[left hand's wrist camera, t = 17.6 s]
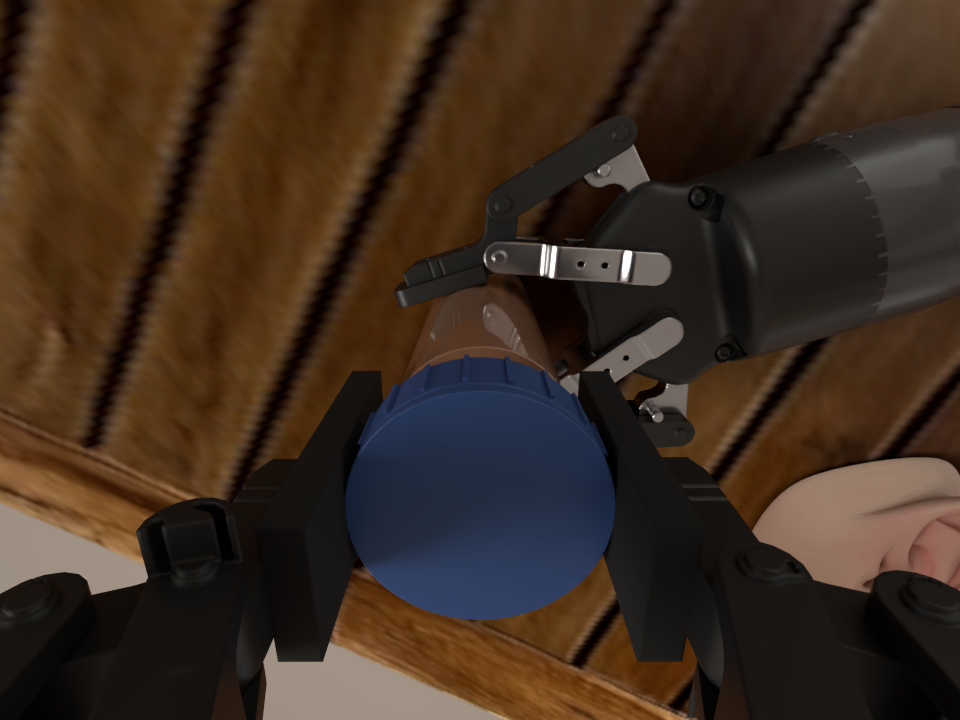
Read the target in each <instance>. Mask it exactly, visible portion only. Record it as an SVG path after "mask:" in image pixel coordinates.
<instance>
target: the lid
mask: <svg viewBox="0 0 960 720" xmlns="http://www.w3.org/2000/svg"><path fill="white" fill-rule="evenodd" d="M357 444H358V445H360V448H359V451H358V453H357V455H356V458H355V460H354V462H353V465H352V467H351V470H350V473H349V476H348V479H347V483H346V489H345V495H344V499H345V512H346V521H347V530H348V533H349V536H350V539H351V542H352V544H353V546H354V548H355V550H356V553H357V555H358V556H359V558H360V559H361V561H362V562H363V564H364V565H365V567H366V568H367V569H368V570H369V571H370V573H371V574H372V575H373V576H374V577H375V578H376V579H377V580H378V581H379V582H380V583H381V584H382V585H383V586H385V587H386V588H387V589H388V590H390V591H391V592H392V593H394V594H395V595H397V596H398V597H400V598H401V599H403V600H405V601H407V602H409V603H411V604H413V605H414V606H417V607H419V608H422V609H424V610H427V611H429V612H433V613H437V614H440V615H444V616H449V617H454V618H460V619H473V620H485V619H499V618H507V617H512V616H516V615H520V614H525V613H528V612H530V611H533V610H536V609H539V608H541V607H543V606H546V605H548V604H550V603H552V602H554V601H556V600H557V599H559V598H561V597H562V596H564V595H565V594H567V593H568V592H570V591H571V590H572V589H573V588H575V587H576V586H577V585H578V584H580V583H581V582H582V581H583V580H584V579H585V578H586V576H587V575H588V574H589V573H590V572H591V571H592V570H593V568H594V567H595V566H596V564H597V563H598V562H599V560H600V559H601V557H602V555H603V553H604V551H605V550H606V548H607V546H608V543H609V540H610V538H611V535H612V532H613V524H614V515H615V505H616V492H615V485H614V481H613V477H612V474H611V471H610V469H609V466H608V464H607V462H606V459H605V457H607V456H608V453H607V451H606V448H605V446H604V444H603V442H602V439H601V437H600V435H599V433H598V430H597V428H596V426H595V424H594V422H592V423H590V422H589V420H588V417H587V416H586V414H585V412H584V411H583V409H582V407H581V404H580V402H579V400H578V397H577V395H576V394H575V393H574V392H573V393H572V394H570V393H569V392H568V391H567V390H566V389H565V388H564V387H562V386H561V385H560V384H559V383H558V382H556V381H555V380H553V379H552V378H550V377H549V375H548V372H547V371H546V370H544V369H543V370H542V372H540V371H538V370H536V369H534V368H532V367H529V366H526V365H524V364H521V363H518V362H514V361H510V357H507V356H505V359H500V358H489V357H471V358H470V357H469V354H467V355H464V358H462V359H456V360H450V361H447V362H443V363H440V364H436V365H434V366H431V365H430V364H427V365H425V368H424V370H422V371H420V372H418V373H417V374H415V375H413V376H412V377H410V378H408V379H407V380H405V381H404V382H403V383H402V384H400V385H399V386H398V385H397V384H395V385H394V386H393V387H392V389H391V392H390V394H389V396H388V397H387V398H386V399H385V400H384V401H383V403H382V404H381V406H380V407H379V408H378V410H377V411H376V413H375V412H372V413H371V414H370V416H369V419H368V421H367V423H366V425H365V428H364V430H363V432H362V434H361V437H360V439H359V441H358V443H357Z"/></svg>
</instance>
